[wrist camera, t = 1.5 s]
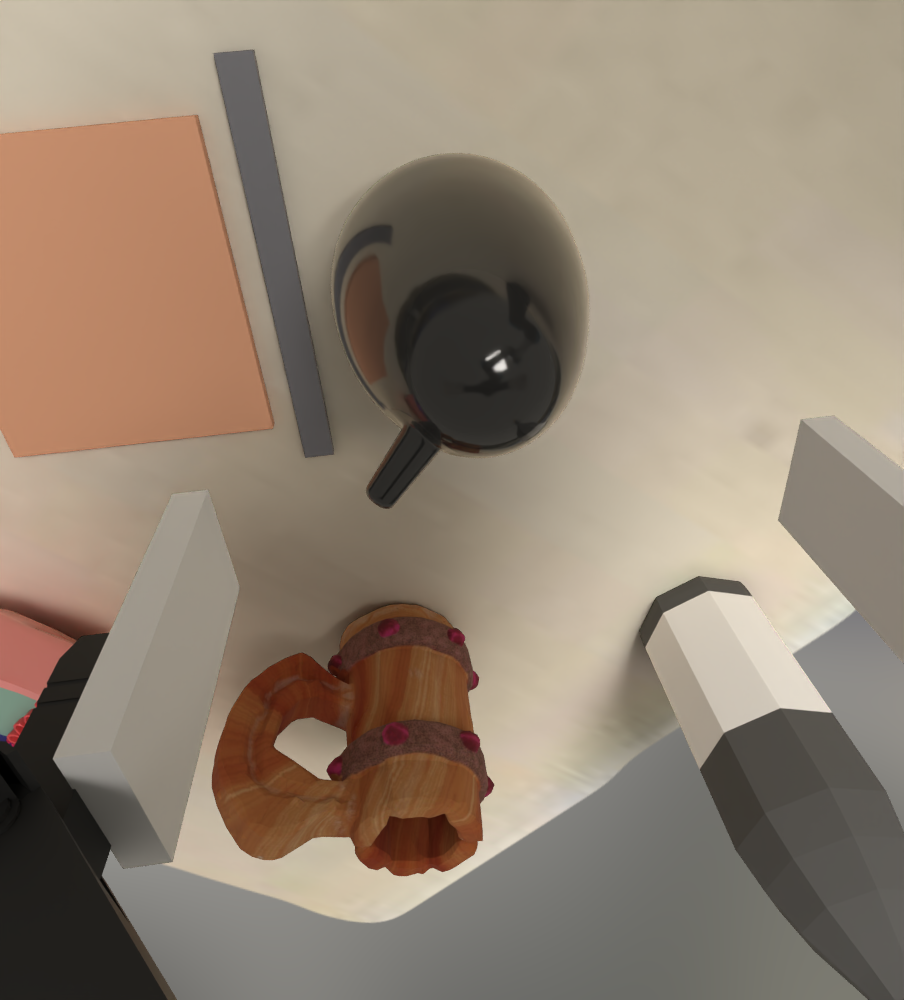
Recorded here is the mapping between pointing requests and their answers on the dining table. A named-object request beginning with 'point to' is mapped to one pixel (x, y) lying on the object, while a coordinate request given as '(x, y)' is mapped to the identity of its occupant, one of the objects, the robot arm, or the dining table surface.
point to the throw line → (274, 242)
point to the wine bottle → (785, 779)
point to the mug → (363, 749)
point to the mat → (119, 292)
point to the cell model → (25, 668)
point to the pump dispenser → (459, 311)
